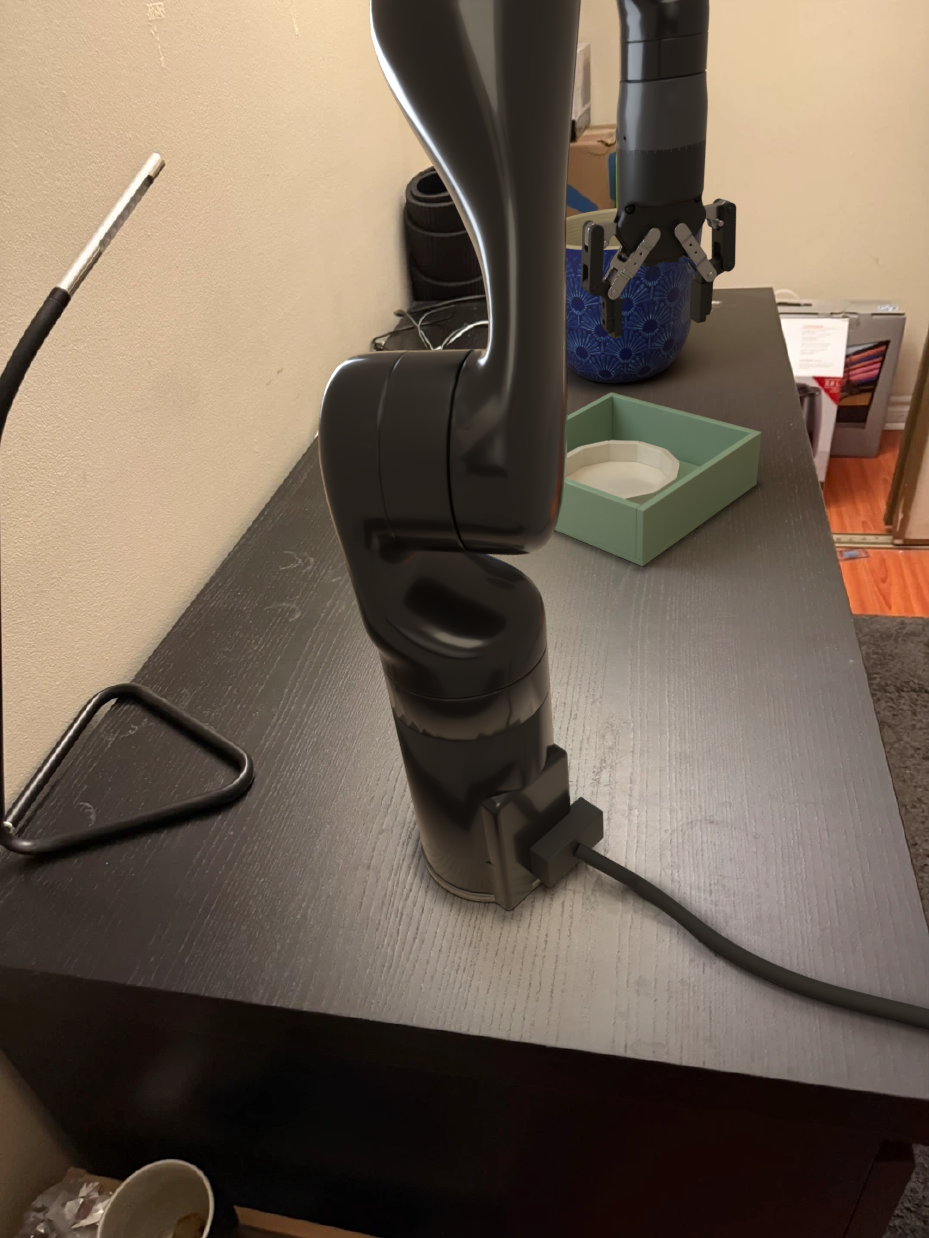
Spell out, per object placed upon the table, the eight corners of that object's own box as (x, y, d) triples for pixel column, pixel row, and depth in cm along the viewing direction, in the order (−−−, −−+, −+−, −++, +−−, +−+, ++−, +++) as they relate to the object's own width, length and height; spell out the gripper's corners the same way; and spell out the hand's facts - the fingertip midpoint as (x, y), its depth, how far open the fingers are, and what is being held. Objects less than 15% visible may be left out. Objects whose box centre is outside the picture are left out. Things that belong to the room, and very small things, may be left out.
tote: (756, 484, 90) (762, 431, 86) (642, 566, 80) (643, 511, 76) (611, 440, 102) (611, 392, 99) (497, 506, 92) (492, 455, 89)
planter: (553, 347, 130) (547, 213, 118) (692, 340, 125) (699, 200, 114) (540, 402, 114) (531, 253, 102) (698, 396, 109) (707, 240, 98)
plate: (702, 485, 90) (704, 460, 88) (625, 537, 83) (625, 511, 82) (606, 454, 98) (606, 430, 96) (530, 499, 92) (528, 475, 90)
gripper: (596, 156, 68) (599, 353, 78) (760, 129, 70) (743, 326, 79) (567, 146, 74) (573, 330, 84) (718, 121, 76) (708, 305, 85)
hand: (656, 328), depth 82 cm, fingers open, 8 cm apart
